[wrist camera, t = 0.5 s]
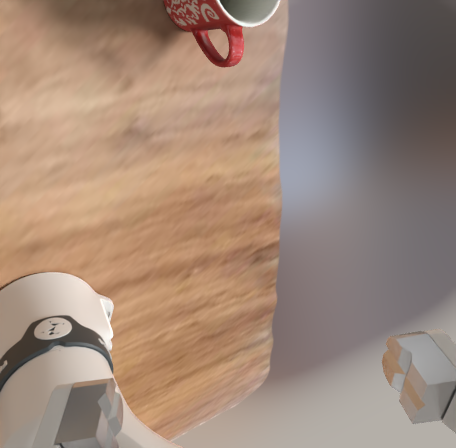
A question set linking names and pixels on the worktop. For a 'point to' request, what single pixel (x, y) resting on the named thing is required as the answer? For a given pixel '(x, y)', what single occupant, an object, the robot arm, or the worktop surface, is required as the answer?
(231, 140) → the worktop surface
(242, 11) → the mug
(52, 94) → the worktop surface
